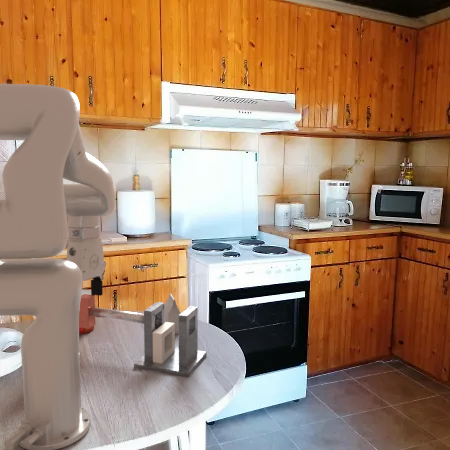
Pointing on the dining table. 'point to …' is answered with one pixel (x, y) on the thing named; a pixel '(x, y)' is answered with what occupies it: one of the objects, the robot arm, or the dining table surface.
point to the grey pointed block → (172, 312)
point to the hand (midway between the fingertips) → (85, 299)
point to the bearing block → (183, 355)
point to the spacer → (163, 342)
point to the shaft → (103, 313)
